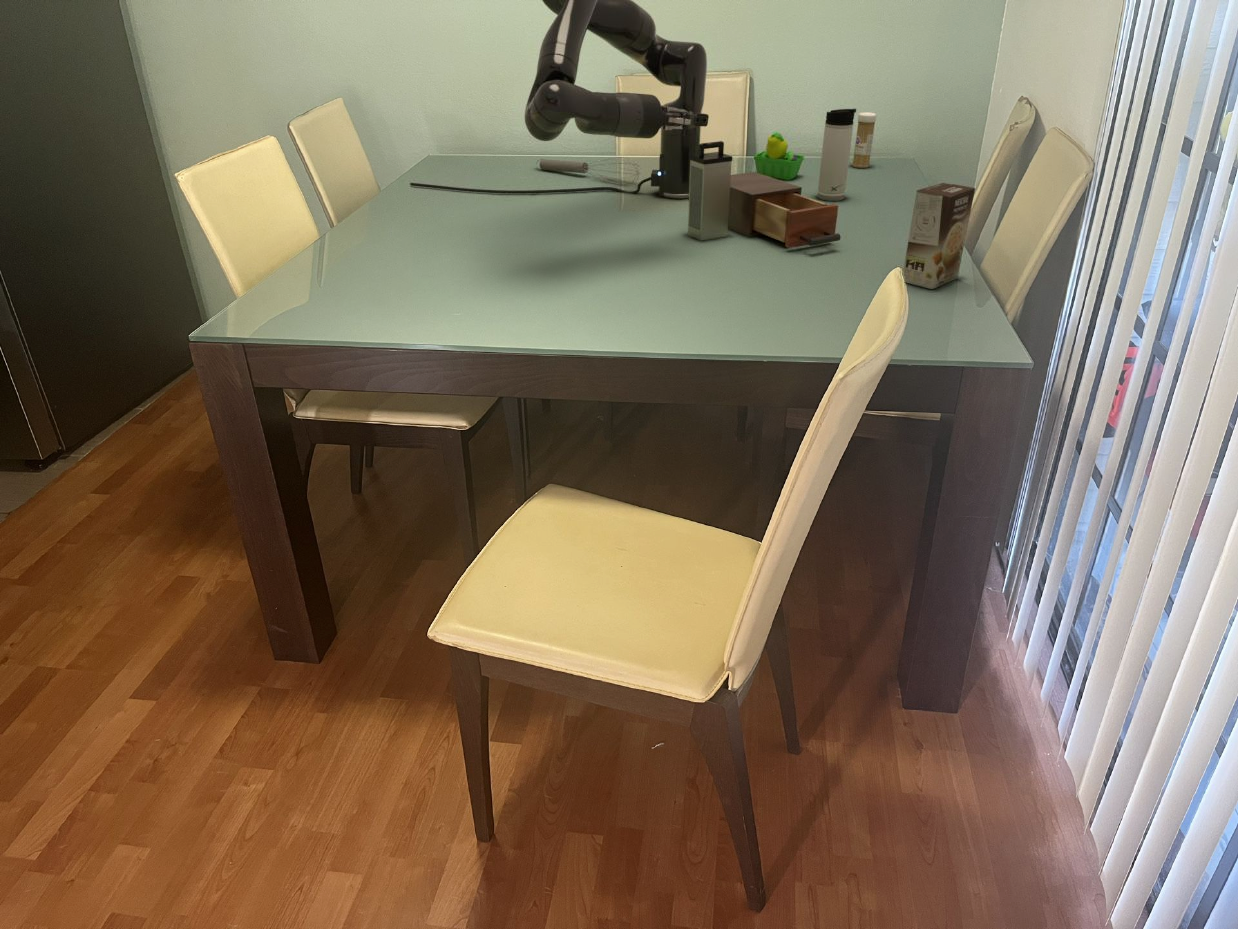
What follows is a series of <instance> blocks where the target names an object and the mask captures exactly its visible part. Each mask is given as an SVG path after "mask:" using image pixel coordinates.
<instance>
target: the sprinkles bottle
mask: <svg viewBox="0 0 1238 929" xmlns="http://www.w3.org/2000/svg"><path fill="white" fill-rule="evenodd" d="M876 121H877V114H876V113H874V112H868V111H867V112H859V113H858V115H857V130H856V137H855V142H854V150H853V158H852V159H853V160H852V163H851V165H852V167H854V168H858V169H865V168H869V167H870V160H871V154H872V147H873V140H874V132H875V124H876Z"/></svg>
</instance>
